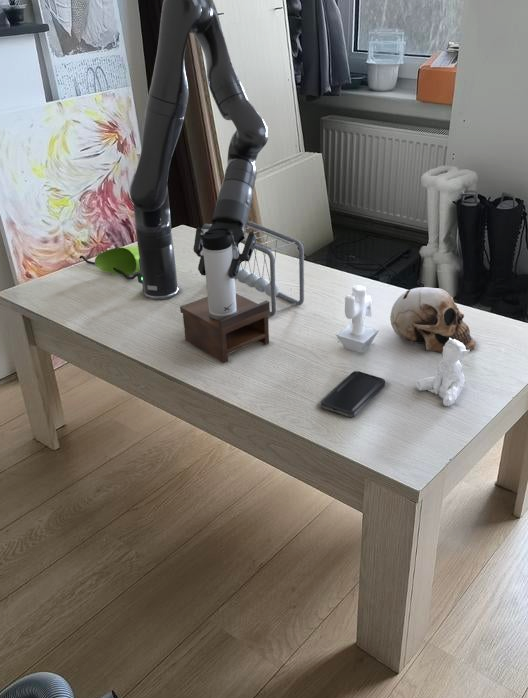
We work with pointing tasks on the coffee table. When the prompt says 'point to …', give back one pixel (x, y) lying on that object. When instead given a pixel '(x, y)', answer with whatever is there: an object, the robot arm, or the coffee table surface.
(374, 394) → the phone
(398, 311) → the coin bank
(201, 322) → the brown wooden stand
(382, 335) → the coffee table surface
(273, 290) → the newton's cradle
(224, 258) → the travel mug
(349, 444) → the coffee table surface
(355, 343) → the figurine
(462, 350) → the white creature statuette
